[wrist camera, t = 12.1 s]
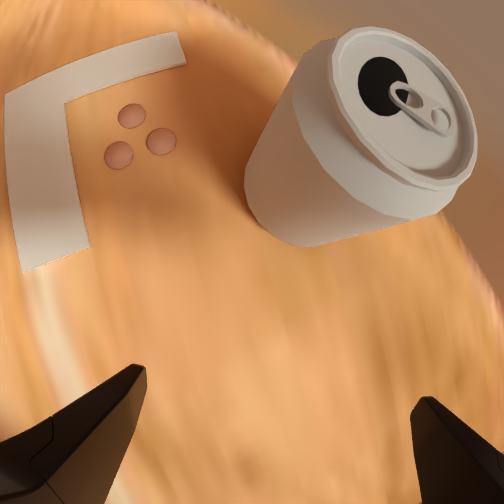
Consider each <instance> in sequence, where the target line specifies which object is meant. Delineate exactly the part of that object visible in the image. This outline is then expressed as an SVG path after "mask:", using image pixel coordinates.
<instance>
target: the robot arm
mask: <svg viewBox="0 0 504 504" xmlns="http://www.w3.org/2000/svg"><path fill="white" fill-rule="evenodd" d="M146 390H147V377H146V368H145V367H144V366H142V365H138V364H131V365H129V366H128V367H126V368H125V369H123V370H122V371H120V372H118V373H117V374H115V375H114V376H112V377H111V378H109V379H108V380H106V381H105V382H103V383H102V384H100V385H99V386H97V387H96V388H94V389H92V390H91V391H89V392H88V393H86V394H85V395H83V396H82V397H80V398H78V399H77V400H75V401H74V402H72V403H71V404H69V405H68V406H66V407H64V408H63V409H61V410H60V411H58V412H56V413H55V414H53V415H52V416H50V417H48V418H47V419H45V420H44V421H42V422H40V423H39V424H37V425H35V426H33V427H32V428H30V429H28V430H26V431H24V432H22V433H20V434H18V435H16V436H14V437H11V438H9V439H7V440H5V441H2V442H0V504H104V503H105V501H106V498H107V496H108V493H109V491H110V488H111V486H112V484H113V481H114V479H115V476H116V474H117V472H118V469H119V467H120V464H121V462H122V460H123V457H124V455H125V453H126V450H127V448H128V446H129V443H130V441H131V439H132V436H133V434H134V431H135V428H136V425H137V421H138V418H139V414H140V411H141V407H142V404H143V401H144V397H145V394H146ZM410 422H411V431H412V441H413V451H414V458H415V464H416V469H417V474H418V480H419V486H420V492H421V498H422V504H504V455H503V454H502V453H500V452H499V451H498V450H496V448H494V447H493V446H492V445H491V444H490V443H488V442H487V441H486V440H485V439H483V438H482V437H481V436H480V435H479V434H477V433H476V432H475V431H474V430H473V429H471V428H470V427H469V426H468V425H467V424H465V423H464V422H463V421H462V420H461V419H459V418H458V417H457V416H456V415H454V414H453V413H452V412H451V411H450V410H448V409H447V408H446V407H445V406H444V405H442V404H441V403H440V402H439V401H437V400H436V399H435V398H434V397H432V396H424V397H421V398H420V399H419V401H418V403H417V404H416V406H415V407H414V409H413V410H412V412H411V415H410Z"/></svg>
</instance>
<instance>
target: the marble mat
mask: <svg viewBox="0 0 504 504" xmlns="http://www.w3.org/2000/svg"><path fill="white" fill-rule="evenodd" d="M186 64H187V61H186V58H185V55H184V52H183V50H182V47H181V44H180V41H179V38H178V35H177V32H176V31H172V32H168V33H164V34H159V35H155V36H151V37H148V38H144V39H140V40H136V41H133V42H130V43H126V44H123V45H120V46H116V47H113V48H110V49H107V50H104V51H101V52H98V53H96V54H93V55H90V56H87V57H85V58H82V59H79V60H77V61H74V62H72V63H69V64H67V65H65V66H62V67H60V68H58V69H55V70H53V71H51V72H48V73H46V74H44V75H42V76H40V77H38V78H36V79H34V80H32V81H30V82H28V83H26V84H24V85H22V86H20V87H18V88H16V89H14V90H12V91H10V92H8V93H7V94H5V105H4V143H5V163H6V176H7V187H8V196H9V204H10V211H11V218H12V224H13V230H14V236H15V241H16V246H17V251H18V256H19V260H20V265H21V269H22V273H26V272H29V271H31V270H34V269H36V268H38V267H41V266H43V265H46V264H48V263H51V262H53V261H56V260H58V259H61V258H63V257H66V256H69V255H71V254H74V253H76V252H79V251H82V250H84V249H87V248H90V247H91V244H90V241H89V237H88V233H87V229H86V225H85V221H84V217H83V212H82V208H81V203H80V199H79V194H78V189H77V184H76V179H75V173H74V168H73V162H72V156H71V150H70V143H69V136H68V128H67V120H66V111H65V103H67V102H70V101H72V100H74V99H77V98H79V97H82V96H84V95H87V94H90V93H92V92H95V91H98V90H100V89H103V88H106V87H109V86H112V85H115V84H118V83H121V82H124V81H127V80H130V79H133V78H137V77H140V76H143V75H147V74H150V73H154V72H158V71H161V70H165V69H169V68H173V67H177V66H181V65H186ZM144 119H145V110H144V108H143V107H142V106H141V105H138V104H130V105H127V106H126V107H124V108H123V109H122V110H121V111H120V113H119V122H120V124H121V125H122V126H123V127H125V128H134V127H137V126H139V125H140V124H141V123H142V122H143V121H144ZM175 143H176V138H175V135H174V133H173V132H172V131H170V130H168V129H165V128H161V129H157V130H155V131H153V132H152V133H151V134H150V135H149V137H148V139H147V146H148V148H149V150H150V151H151V152H152V153H154V154H157V155H163V154H167V153H169V152H170V151H171V150H172V149H173V148H174V146H175ZM132 157H133V151H132V149H131V147H130V146H129V145H128V144H127V143H124V142H117V143H114V144H113V145H111V146H110V147H109V148H108V149H107V151H106V154H105V161H106V163H107V165H108V166H109V167H110V168H112V169H122V168H124V167H126V166H127V165H128V164H129V163H130V162H131V160H132Z"/></svg>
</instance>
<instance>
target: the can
mask: <svg viewBox="0 0 504 504" xmlns="http://www.w3.org/2000/svg"><path fill="white" fill-rule="evenodd" d="M477 138H478V137H477V131H476V127H475V122H474V117H473V114H472V111H471V109H470V106H469V104H468V102H467V100H466V97H465V95H464V93H463V91H462V90H461V88H460V87H459V85H458V84H457V82H456V81H455V79H454V78H453V77H452V75H451V73H450V72H449V71H448V70H447V69H446V68H445V67H444V66H443V65H442V64H441V62H440V61H439V60H438V59H437V58H436V57H435V56H434V55H433V54H431V53H430V52H429V51H428V50H426V49H425V48H424V47H422V46H421V45H419V44H418V43H416V42H415V41H414V40H412V39H410V38H408V37H406V36H404V35H402V34H399V33H397V32H395V31H393V30H389V29H384V28H378V27H373V26H363V27H357V28H351V29H348V30H347V31H345V32H344V33H342V34H341V35H340V36H338V37H337V38H332V39H328V40H323V41H321V42H319V43H318V44H316V45H315V46H314V47H312V48H311V49H310V50H308V51H307V52H306V53H304V54H303V56H302V58H301V60H300V61H299V63H298V65H297V67H296V69H295V71H294V73H293V74H292V76H291V78H290V80H289V82H288V84H287V86H286V88H285V89H284V91H283V93H282V95H281V97H280V99H279V101H278V103H277V105H276V107H275V108H274V110H273V112H272V114H271V116H270V118H269V120H268V122H267V124H266V126H265V128H264V130H263V132H262V134H261V136H260V138H259V140H258V142H257V144H256V146H255V148H254V150H253V152H252V154H251V156H250V158H249V160H248V163H247V165H246V167H245V176H244V190H245V195H246V199H247V203H248V206H249V208H250V210H251V211H252V213H253V215H254V216H255V218H256V219H257V221H258V223H259V224H260V225H261V226H262V227H263V228H265V229H266V230H267V231H268V232H269V233H270V234H271V235H272V236H274V237H275V238H277V239H279V240H282V241H284V242H286V243H288V244H291V245H293V246H303V247H315V246H319V245H323V244H327V243H331V242H335V241H339V240H343V239H346V238H350V237H354V236H357V235H361V234H365V233H369V232H372V231H376V230H380V229H383V228H387V227H391V226H395V225H398V224H402V223H406V222H409V221H413V220H416V219H420V218H424V217H427V216H431V215H435V214H436V213H437V212H439V211H440V210H441V209H442V208H443V207H444V206H446V205H447V204H448V203H449V202H450V201H451V200H452V198H453V196H454V194H455V192H456V190H457V188H458V186H459V185H460V184H462V183H463V182H464V181H465V180H466V179H467V178H468V177H469V176H470V174H471V172H472V169H473V167H474V165H475V162H476V159H477Z"/></svg>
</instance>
